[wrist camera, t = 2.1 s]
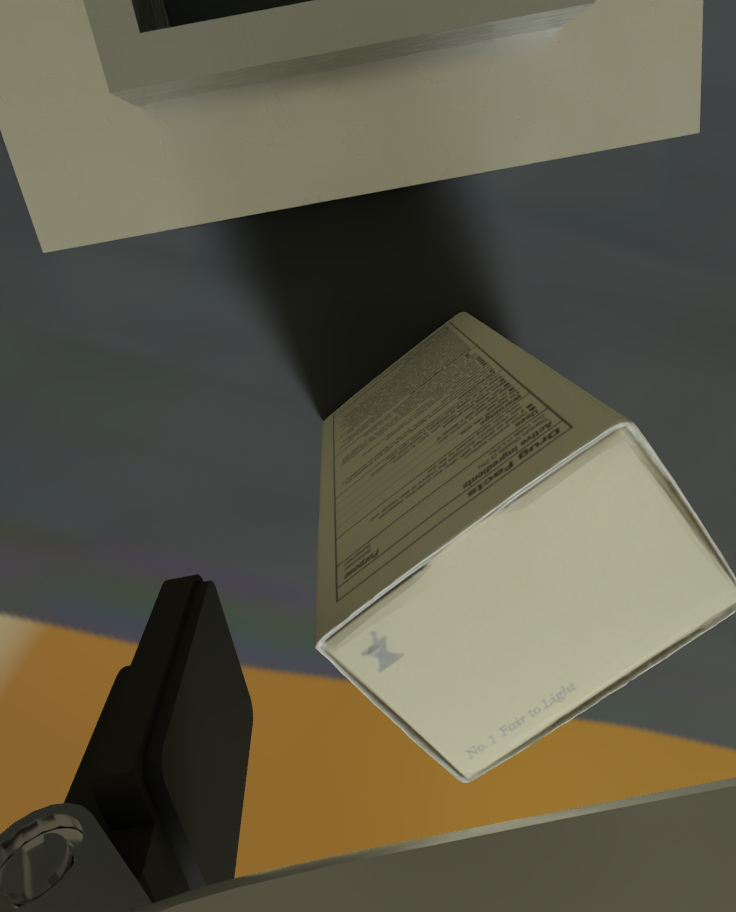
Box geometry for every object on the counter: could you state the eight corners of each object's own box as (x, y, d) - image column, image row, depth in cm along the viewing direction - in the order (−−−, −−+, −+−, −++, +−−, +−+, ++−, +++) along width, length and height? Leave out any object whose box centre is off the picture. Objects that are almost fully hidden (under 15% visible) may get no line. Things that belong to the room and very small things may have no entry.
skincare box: (396, 506, 23) (457, 800, 12) (315, 416, 21) (297, 652, 10) (540, 399, 22) (766, 612, 10) (465, 296, 20) (633, 414, 9)
